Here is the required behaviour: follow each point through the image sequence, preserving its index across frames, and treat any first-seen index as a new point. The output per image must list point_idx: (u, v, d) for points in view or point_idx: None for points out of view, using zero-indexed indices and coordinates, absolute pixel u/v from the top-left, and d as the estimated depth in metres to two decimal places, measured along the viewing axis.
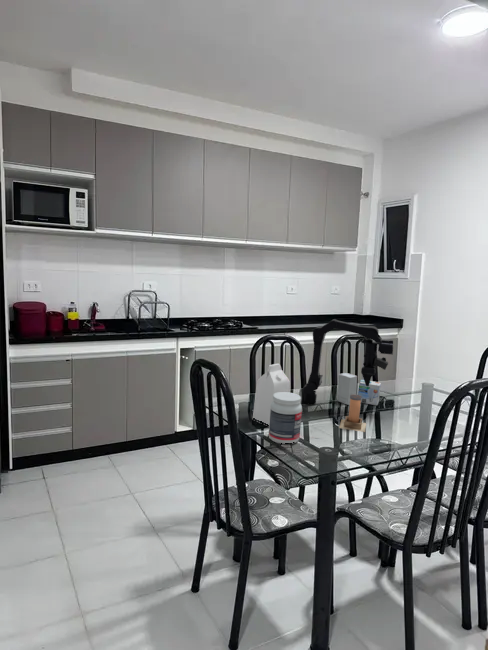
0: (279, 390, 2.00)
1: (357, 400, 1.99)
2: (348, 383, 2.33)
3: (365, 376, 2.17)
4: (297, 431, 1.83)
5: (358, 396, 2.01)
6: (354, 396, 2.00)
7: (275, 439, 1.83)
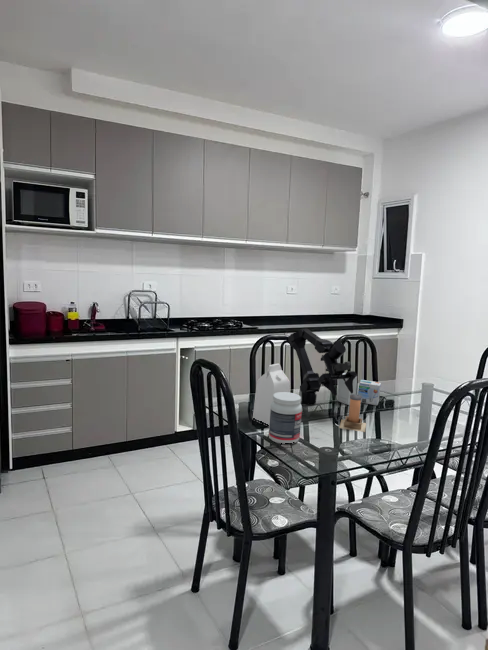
0: (279, 390, 2.00)
1: (357, 400, 1.99)
2: None
3: (328, 386, 2.09)
4: (297, 431, 1.83)
5: (358, 396, 2.01)
6: (354, 396, 2.00)
7: (275, 439, 1.83)
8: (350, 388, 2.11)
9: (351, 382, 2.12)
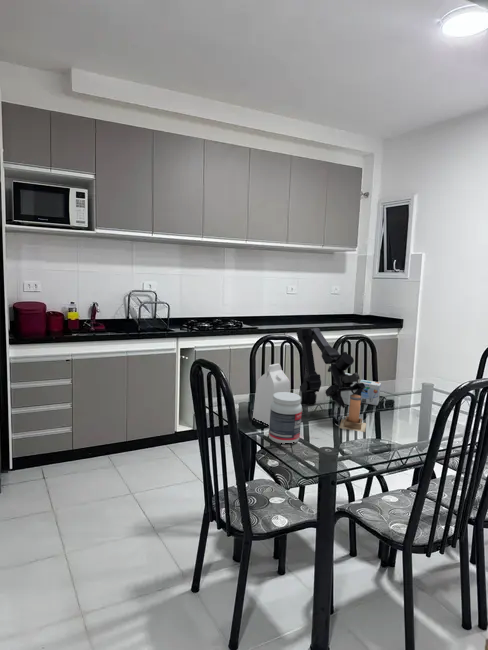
0: (279, 390, 2.00)
1: (357, 400, 1.99)
2: None
3: (336, 398, 2.04)
4: (297, 431, 1.83)
5: (358, 396, 2.01)
6: (354, 396, 2.00)
7: (275, 439, 1.83)
8: None
9: (359, 394, 2.07)
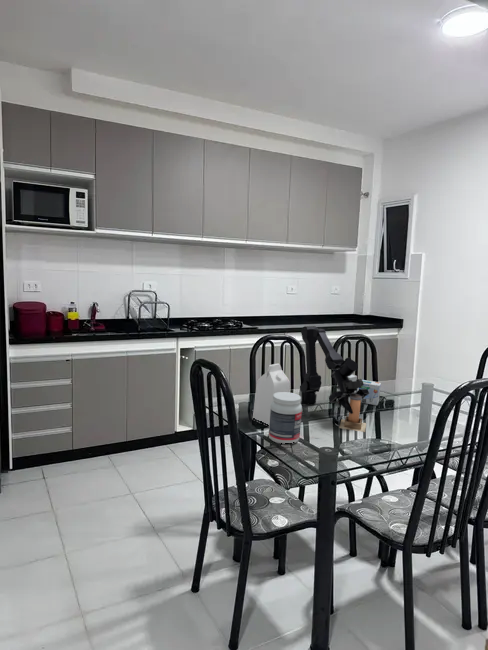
0: (279, 390, 2.00)
1: (357, 400, 1.99)
2: None
3: (343, 404, 2.02)
4: (297, 431, 1.83)
5: (358, 396, 2.01)
6: (354, 396, 2.00)
7: (275, 439, 1.83)
8: None
9: None
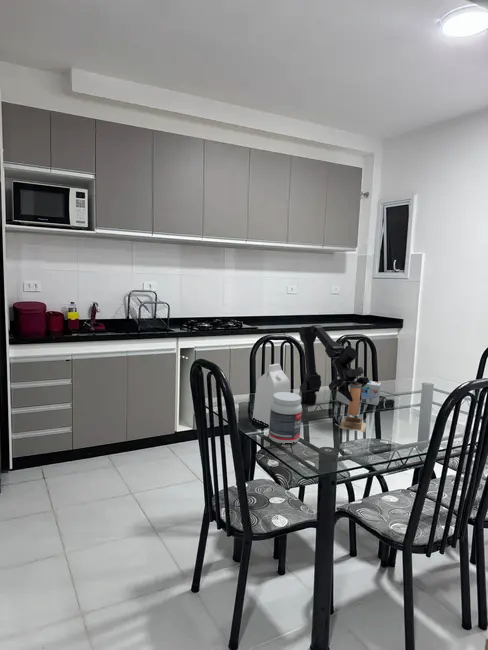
0: (279, 390, 2.00)
1: (357, 388, 1.98)
2: None
3: (343, 392, 2.01)
4: (297, 431, 1.83)
5: (358, 384, 2.00)
6: (354, 384, 1.99)
7: (275, 439, 1.83)
8: None
9: None
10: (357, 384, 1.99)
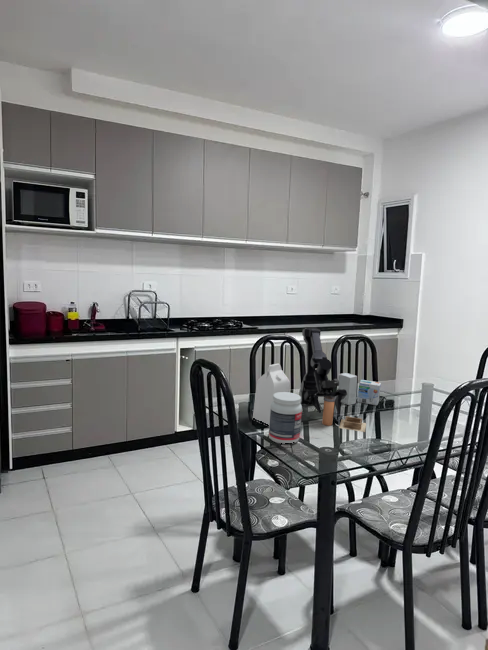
0: (279, 390, 2.00)
1: (329, 402, 1.99)
2: (348, 383, 2.33)
3: (314, 403, 2.03)
4: (297, 431, 1.83)
5: (332, 398, 2.01)
6: (327, 397, 2.01)
7: (275, 439, 1.83)
8: (337, 407, 2.03)
9: (339, 401, 2.04)
10: (330, 398, 2.01)
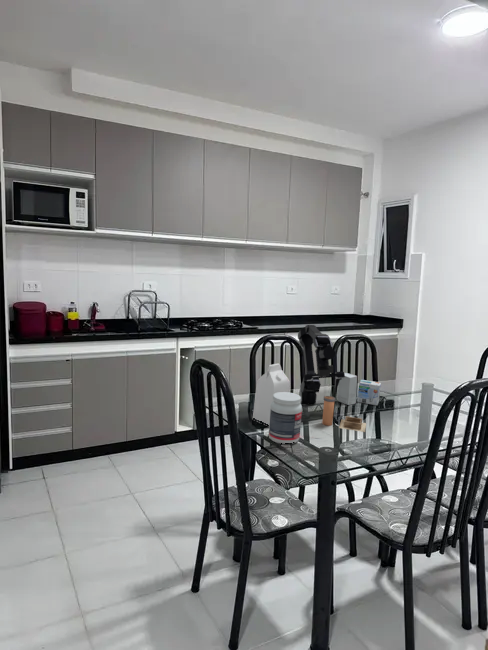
0: (279, 390, 2.00)
1: (329, 401, 1.99)
2: (348, 383, 2.33)
3: None
4: (297, 431, 1.83)
5: (332, 398, 2.01)
6: (327, 397, 2.01)
7: (275, 439, 1.83)
8: (335, 388, 2.13)
9: (336, 383, 2.12)
10: (330, 398, 2.01)
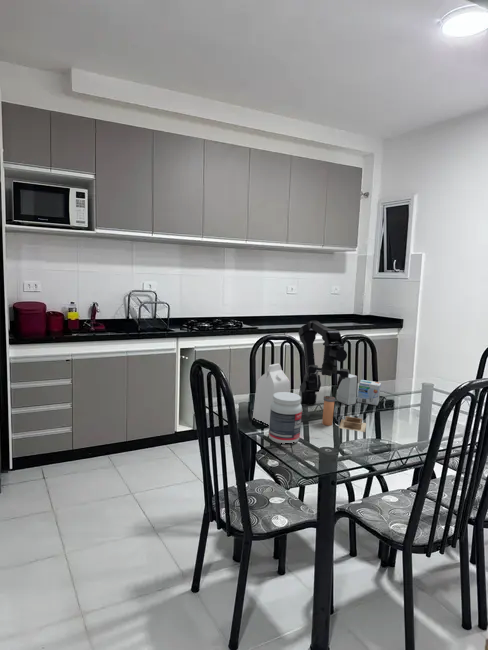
0: (279, 390, 2.00)
1: (329, 401, 1.99)
2: (348, 383, 2.33)
3: None
4: (297, 431, 1.83)
5: (332, 398, 2.01)
6: (327, 397, 2.01)
7: (275, 439, 1.83)
8: (337, 385, 2.15)
9: (339, 381, 2.13)
10: (330, 398, 2.01)
